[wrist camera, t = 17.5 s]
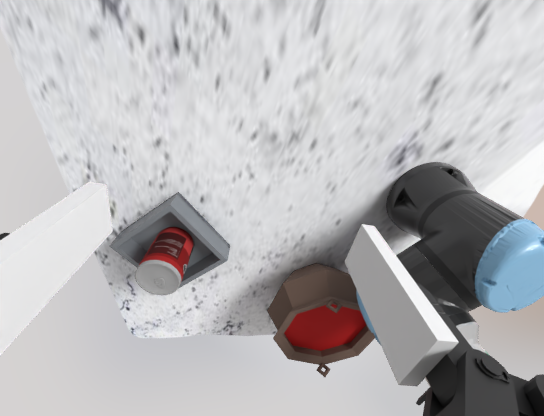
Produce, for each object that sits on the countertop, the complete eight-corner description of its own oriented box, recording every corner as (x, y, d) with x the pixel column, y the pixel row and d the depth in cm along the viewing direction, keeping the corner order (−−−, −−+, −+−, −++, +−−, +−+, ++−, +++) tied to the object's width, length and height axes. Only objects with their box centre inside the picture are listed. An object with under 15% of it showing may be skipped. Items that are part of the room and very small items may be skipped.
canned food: (172, 260, 55) (153, 300, 45) (149, 233, 51) (123, 271, 41) (202, 248, 53) (189, 287, 44) (180, 220, 50) (162, 256, 40)
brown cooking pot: (265, 248, 55) (266, 311, 41) (369, 245, 56) (406, 304, 42) (267, 317, 67) (269, 383, 53) (353, 313, 68) (378, 377, 54)
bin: (230, 245, 54) (227, 260, 50) (176, 276, 58) (170, 292, 54) (178, 192, 48) (170, 204, 43) (122, 231, 51) (109, 246, 47)
